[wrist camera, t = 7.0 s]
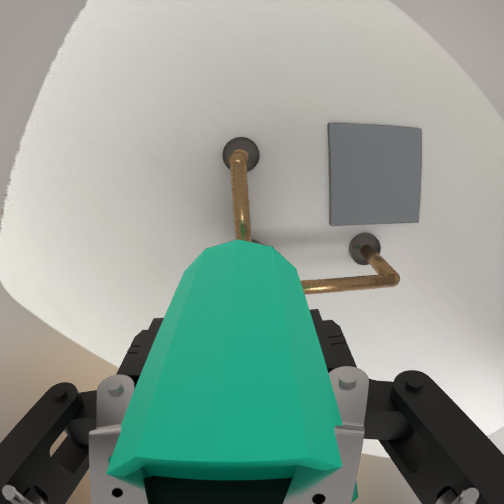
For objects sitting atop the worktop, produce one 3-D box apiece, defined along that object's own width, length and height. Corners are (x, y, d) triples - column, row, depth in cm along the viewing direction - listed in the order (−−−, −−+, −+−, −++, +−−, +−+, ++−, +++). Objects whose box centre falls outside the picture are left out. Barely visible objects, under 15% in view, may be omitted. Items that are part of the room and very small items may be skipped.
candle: (172, 241, 14) (29, 490, 3) (305, 237, 14) (423, 507, 3) (188, 347, 16) (139, 566, 5) (300, 345, 16) (342, 570, 5)
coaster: (418, 128, 24) (421, 128, 24) (415, 220, 27) (418, 222, 27) (327, 123, 24) (329, 123, 24) (329, 224, 28) (331, 226, 27)
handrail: (381, 136, 25) (423, 139, 18) (376, 261, 29) (409, 298, 22) (222, 138, 25) (211, 139, 18) (232, 270, 29) (227, 313, 22)
